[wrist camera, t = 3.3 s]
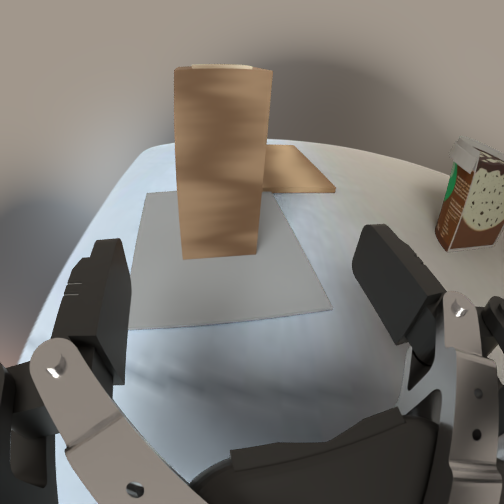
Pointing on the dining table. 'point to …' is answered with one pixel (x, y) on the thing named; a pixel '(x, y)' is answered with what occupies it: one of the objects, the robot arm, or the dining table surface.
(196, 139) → the walnut block
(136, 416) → the dining table surface
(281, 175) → the cork pad
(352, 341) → the dining table surface
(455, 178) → the food container
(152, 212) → the tile
